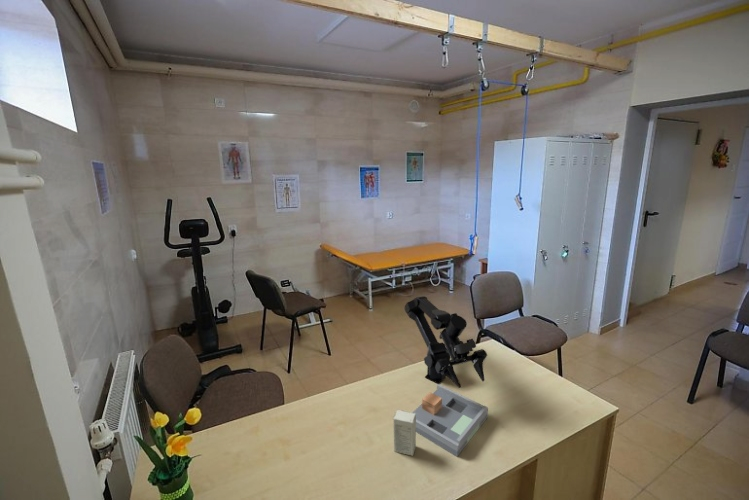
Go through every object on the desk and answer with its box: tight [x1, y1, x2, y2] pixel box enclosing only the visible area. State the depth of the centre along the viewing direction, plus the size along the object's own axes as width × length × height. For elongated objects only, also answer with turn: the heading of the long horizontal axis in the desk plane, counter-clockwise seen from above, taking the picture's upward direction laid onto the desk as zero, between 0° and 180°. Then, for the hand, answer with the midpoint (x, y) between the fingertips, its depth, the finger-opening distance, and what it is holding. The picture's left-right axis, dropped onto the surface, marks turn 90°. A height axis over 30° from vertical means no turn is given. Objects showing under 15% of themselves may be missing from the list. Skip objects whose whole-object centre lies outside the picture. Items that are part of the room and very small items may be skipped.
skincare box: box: [392, 409, 417, 457], centre depth 107 cm, size 6×4×12 cm
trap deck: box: [411, 383, 489, 457], centre depth 119 cm, size 20×22×5 cm
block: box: [421, 392, 442, 415], centre depth 123 cm, size 5×5×4 cm
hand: (472, 384), depth 118 cm, fingers open, 9 cm apart
